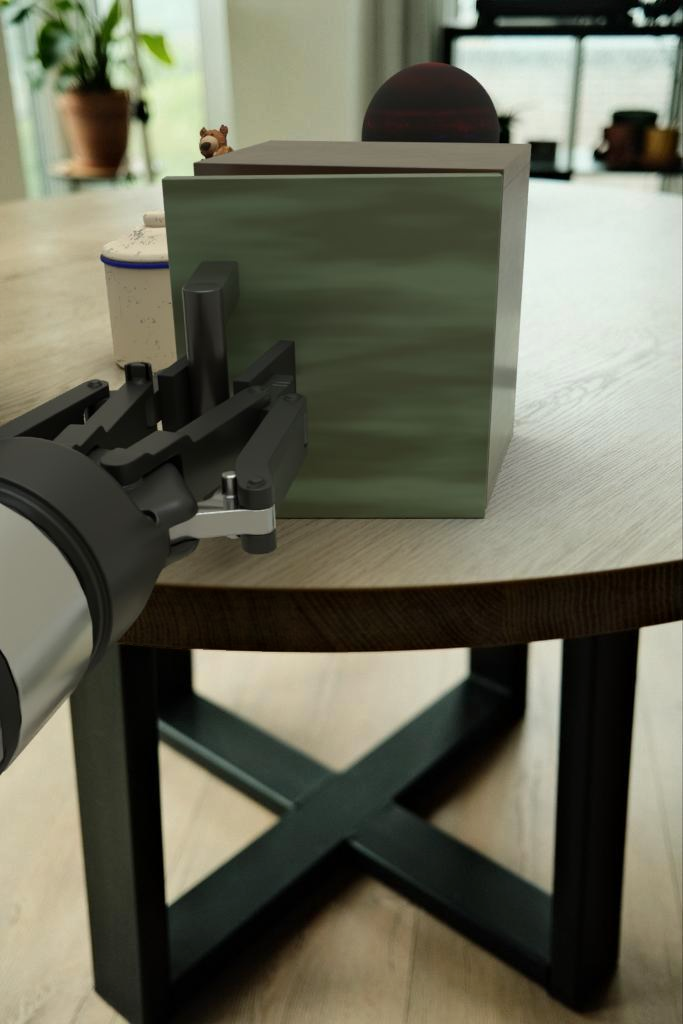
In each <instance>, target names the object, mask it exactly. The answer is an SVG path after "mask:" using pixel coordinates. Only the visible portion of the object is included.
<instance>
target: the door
mask: <svg viewBox="0 0 683 1024" xmlns="http://www.w3.org/2000/svg"><path fill="white" fill-rule="evenodd" d="M502 182H503V176H502V175H501V174H500V173H430V174H334V175H238V176H194V175H166V176H164V177H163V178H162V179H161V188H162V189H161V190H162V201H163V211H164V214H165V226H166V238H167V250H168V261H169V273H170V285H171V297H172V309H173V320H174V332H175V344H176V356H177V360H179V359H180V358H182V357H183V356H184V355H186V354H187V361H188V373H189V386H190V398H191V410H192V422H193V421H194V420H196V419H197V418H199V417H201V416H202V415H204V414H205V413H207V412H209V411H210V410H212V409H213V408H215V407H216V406H218V405H220V404H221V403H223V402H224V401H226V400H228V399H229V398H231V397H232V396H234V393H233V380H234V379H235V378H236V377H238V376H239V375H240V374H241V373H242V372H243V371H245V370H246V369H247V368H248V367H249V366H250V365H252V364H253V363H254V362H255V361H256V360H257V359H259V358H260V357H261V356H262V355H263V354H264V353H265V352H267V351H268V350H269V349H270V348H271V347H272V346H274V345H275V344H276V343H277V342H278V341H279V340H287V341H295V366H296V394H301V395H303V396H305V397H306V399H307V426H308V454H307V456H306V458H305V460H304V462H303V464H302V466H301V468H300V470H299V472H298V474H297V475H296V477H295V479H294V481H293V483H292V485H291V487H290V489H289V491H288V493H287V495H286V497H285V498H284V500H283V502H282V504H281V506H280V508H279V510H278V512H277V514H276V519H376V518H377V519H380V518H381V519H386V518H387V519H388V518H389V519H392V518H393V519H396V518H397V519H402V518H403V519H404V518H406V519H415V518H416V519H420V518H421V519H423V518H424V519H427V518H428V519H430V518H432V519H437V518H438V519H439V518H441V519H442V518H443V519H446V518H447V519H449V518H450V519H453V518H454V519H459V518H460V519H461V518H462V519H464V518H465V519H468V518H470V519H471V518H472V519H473V518H475V519H481V518H482V519H483V518H486V509H485V507H486V488H487V469H488V450H489V431H490V411H491V392H492V373H493V354H494V335H495V316H496V297H497V277H498V258H499V239H500V220H501V201H502ZM220 488H222V484H221V485H219V486H218V487H217V488H215V489H214V490H213V491H212V492H210V493H209V494H208V495H206V496H205V497H204V498H202V499H201V500H200V501H199V502H201V501H205V500H207V499H210V498H211V497H212V496H213V495H214V493H215V491H217V490H218V489H220Z"/></svg>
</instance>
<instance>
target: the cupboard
mask: <svg viewBox="0 0 683 1024" xmlns="http://www.w3.org/2000/svg"><path fill="white" fill-rule="evenodd" d="M531 156H532V144H531V143H500V142H499V143H428V142H362V141H354V140H353V141H351V140H349V141H342V140H341V141H340V140H338V141H337V140H277V139H276V140H274V139H273V140H272V139H271V140H267V141H264V142H261V143H257V144H253V145H250V146H246V147H242V148H240V149H236V150H234V151H232V152H229V153H225V154H222V155H218V156H215V157H211V158H208V159H205V158H204V159H205V160H201V159H200V160H198V161H195V162H193V163H192V167H193V176H238V175H334V174H430V173H500V174H501V175H502V176H503V182H502V201H501V220H500V239H499V258H498V277H497V297H496V316H495V335H494V354H493V373H492V392H491V411H490V431H489V450H488V469H487V488H486V507H485V510H487V509H488V506H489V503H490V500H491V497H492V495H493V492H494V489H495V486H496V484H497V480H498V477H499V475H500V472H501V470H502V467H503V463H504V461H505V458H506V456H507V453H508V450H509V447H510V444H511V441H512V438H513V436H514V427H515V425H514V424H515V410H516V397H517V395H516V394H517V381H518V380H517V379H518V365H519V364H518V363H519V347H520V346H519V345H520V332H521V318H522V317H521V316H522V315H521V314H522V300H523V299H522V298H523V284H524V283H523V282H524V269H525V267H524V265H525V251H526V250H525V249H526V237H527V236H526V234H527V220H528V219H527V218H528V207H529V206H528V203H529V186H530V173H531V172H530V171H531Z"/></svg>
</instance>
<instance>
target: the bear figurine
mask: <svg viewBox="0 0 683 1024" xmlns="http://www.w3.org/2000/svg"><path fill="white" fill-rule="evenodd" d="M228 134H229V127H228V126H227V125H224V124H221V125H220V127H219V129H206V127H205V126H203V127H202V128H201V129H200V130H199V136H200V139H199V143H198V144H199V145H198V147H199V151H200V154H201V156H202V157H204V158H201V159H200V161H201V160H205V159H208V158H211V157H215V156H218V155H222V154H225V153H229V152H232V151H235V150H234V149H233V148H232V146H230V145H228V139H227V136H228Z"/></svg>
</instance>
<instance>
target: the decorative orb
mask: <svg viewBox="0 0 683 1024" xmlns="http://www.w3.org/2000/svg"><path fill="white" fill-rule="evenodd" d="M361 127H362V128H361V142H428V143H500V121H499V117H498V113H497V110H496V106H495V104H494V102H493V100H492V98H491V96H490V94H489V93H488V91H487V90H486V89H485V87H484V86H483V85H482V83H481V82H480V81H479V80H477V78H475V77H474V76H473V75H472V74H470V73H468V72H467V71H466V70H464V69H462V68H460V67H457V66H455V65H452V64H448V63H445V62H444V63H443V62H422V63H417V64H413V65H410V66H408V67H405V68H403V69H401V70H400V71H399V70H398V71H397V72H396V73H394V74H393V75H391V77H389V78H387V80H385V82H383V83H382V84H381V86H380V87H379V88H378V89H377V90H376V92H375V93H374V95H373V96H372V98H371V100H370V102H369V104H368V106H367V108H366V110H365V114H364V117H363V121H362V126H361Z"/></svg>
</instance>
